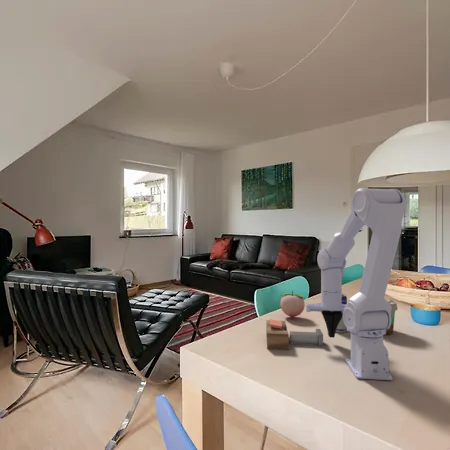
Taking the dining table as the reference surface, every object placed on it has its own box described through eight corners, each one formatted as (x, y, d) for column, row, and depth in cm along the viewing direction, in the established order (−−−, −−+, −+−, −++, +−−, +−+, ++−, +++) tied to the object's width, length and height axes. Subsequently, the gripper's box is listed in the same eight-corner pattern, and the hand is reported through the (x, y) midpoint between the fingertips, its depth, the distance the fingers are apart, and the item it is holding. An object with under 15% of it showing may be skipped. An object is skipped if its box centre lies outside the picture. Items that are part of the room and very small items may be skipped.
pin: (323, 346, 87) (323, 334, 87) (290, 345, 88) (290, 333, 88) (320, 340, 92) (320, 328, 92) (289, 339, 93) (289, 327, 93)
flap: (282, 326, 89) (270, 324, 89) (281, 328, 89) (270, 326, 89) (281, 321, 93) (269, 319, 94) (280, 323, 93) (269, 321, 94)
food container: (374, 338, 93) (375, 306, 93) (361, 331, 99) (361, 301, 99) (406, 334, 97) (406, 303, 97) (391, 328, 103) (391, 299, 103)
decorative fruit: (279, 320, 111) (279, 293, 111) (280, 313, 119) (280, 288, 119) (305, 322, 109) (305, 294, 109) (305, 315, 117) (305, 289, 117)
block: (288, 349, 85) (288, 331, 85) (267, 348, 86) (267, 330, 86) (285, 334, 97) (285, 318, 97) (266, 333, 97) (266, 317, 97)
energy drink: (348, 333, 97) (348, 296, 97) (331, 332, 99) (331, 296, 98) (345, 328, 103) (345, 293, 103) (328, 327, 104) (328, 292, 104)
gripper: (352, 288, 92) (352, 332, 92) (304, 287, 94) (304, 330, 94) (360, 293, 85) (360, 341, 85) (307, 292, 87) (307, 338, 87)
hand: (331, 336), depth 89 cm, fingers closed
